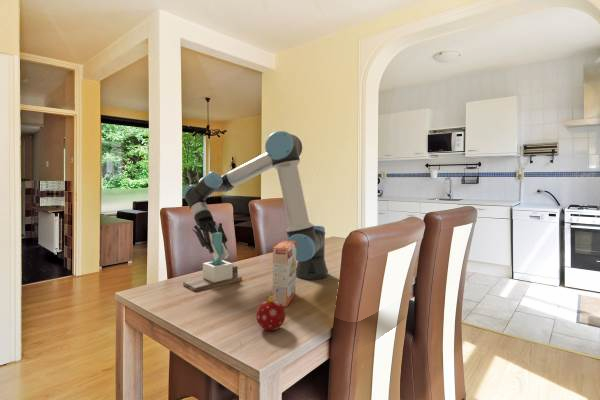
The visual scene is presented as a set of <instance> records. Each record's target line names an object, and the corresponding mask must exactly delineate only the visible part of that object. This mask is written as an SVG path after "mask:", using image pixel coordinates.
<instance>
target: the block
mask: <svg viewBox="0 0 600 400" xmlns="http://www.w3.org/2000/svg"><path fill="white" fill-rule="evenodd" d="M233 265H234V264H233V263H232V262H230V261H226V260H225V259H222V265H217V266H214V265H212V260H211V261H207V262H202V278H205V279H207V280H209V281H212V282H218V281H222V280H227V279H231V278H233Z"/></svg>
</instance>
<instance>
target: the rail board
mask: <svg viewBox="0 0 600 400" xmlns="http://www.w3.org/2000/svg"><path fill="white" fill-rule="evenodd" d="M238 269H239V267H238V266H237V265H235V264H233V278H231V279H227V280H222V281H218V282H212V281H209V280H207V279H205V278H203V277H199V278H195V279H190V280H186V281H183V284H182V285H183V286H184V287H185V288H187V289H189V290H191V291H192V292H194V293H196V292H201V291H204V290H207V289H212V288H215V286H216V287H220V286H223V284H224V285H227V284H232V283H236V282H239V281H242V280H243V276H241V275H239V274H238V273H239V272H238ZM219 285H220V286H219ZM211 287H212V288H211Z"/></svg>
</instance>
